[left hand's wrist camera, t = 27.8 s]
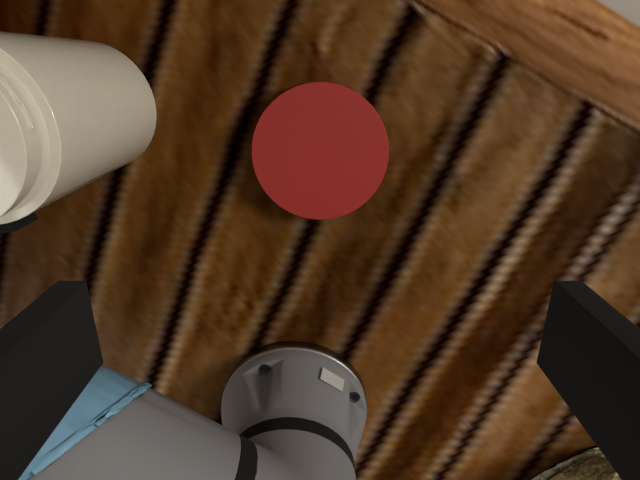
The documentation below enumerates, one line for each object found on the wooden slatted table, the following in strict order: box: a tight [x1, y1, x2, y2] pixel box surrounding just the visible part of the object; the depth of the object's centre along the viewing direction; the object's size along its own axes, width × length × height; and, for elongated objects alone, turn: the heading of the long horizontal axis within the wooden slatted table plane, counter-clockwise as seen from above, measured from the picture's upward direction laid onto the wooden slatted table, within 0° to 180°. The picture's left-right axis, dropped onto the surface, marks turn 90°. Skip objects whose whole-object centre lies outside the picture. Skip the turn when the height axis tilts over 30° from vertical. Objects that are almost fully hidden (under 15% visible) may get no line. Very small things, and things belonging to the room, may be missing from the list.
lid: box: [252, 81, 389, 220], centre depth 37 cm, size 11×11×2 cm
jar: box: [0, 31, 156, 224], centre depth 29 cm, size 10×10×17 cm
